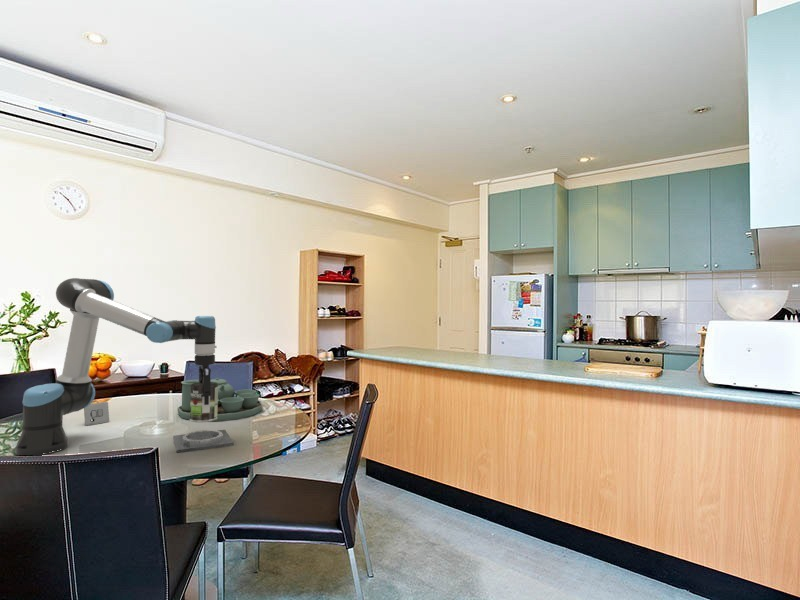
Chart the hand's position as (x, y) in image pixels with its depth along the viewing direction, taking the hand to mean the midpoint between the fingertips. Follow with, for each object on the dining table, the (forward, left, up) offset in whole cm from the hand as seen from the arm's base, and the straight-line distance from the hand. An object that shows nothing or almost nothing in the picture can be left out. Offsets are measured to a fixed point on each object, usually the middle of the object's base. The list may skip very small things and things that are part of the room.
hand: (204, 409), depth 178 cm
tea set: (+14, +48, -13) cm, 52 cm away
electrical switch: (-39, +50, -13) cm, 65 cm away
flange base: (0, 0, -13) cm, 13 cm away
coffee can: (0, 0, -4) cm, 4 cm away
